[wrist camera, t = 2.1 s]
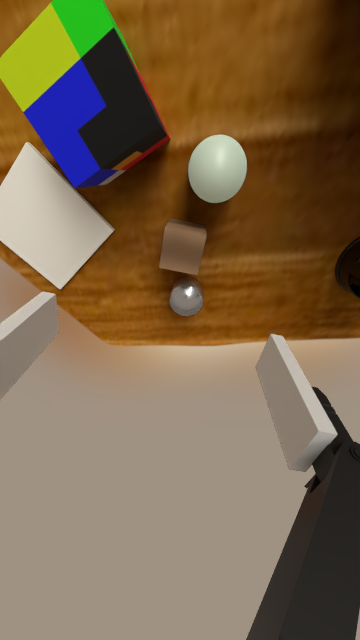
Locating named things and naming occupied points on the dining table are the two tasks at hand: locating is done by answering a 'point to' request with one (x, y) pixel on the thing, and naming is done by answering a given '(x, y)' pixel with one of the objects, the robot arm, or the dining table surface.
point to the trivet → (48, 219)
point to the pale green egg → (217, 168)
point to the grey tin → (186, 296)
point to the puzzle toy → (83, 92)
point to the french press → (349, 267)
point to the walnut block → (182, 246)
